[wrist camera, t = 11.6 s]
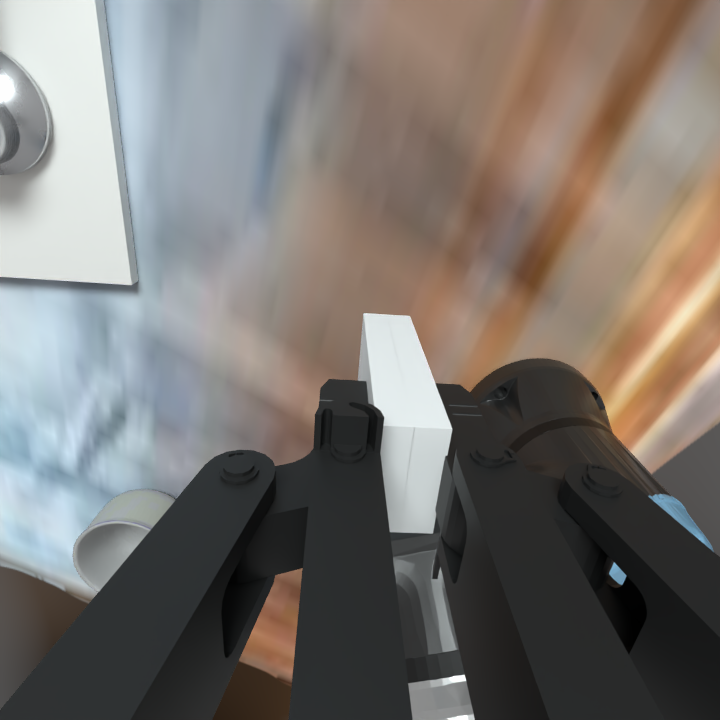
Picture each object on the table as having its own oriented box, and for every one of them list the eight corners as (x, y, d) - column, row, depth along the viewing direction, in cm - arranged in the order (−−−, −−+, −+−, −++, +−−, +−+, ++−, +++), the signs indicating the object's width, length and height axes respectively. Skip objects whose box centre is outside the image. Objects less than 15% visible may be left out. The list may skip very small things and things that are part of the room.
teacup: (110, 542, 57) (77, 600, 50) (101, 470, 53) (62, 522, 46) (227, 549, 58) (210, 607, 51) (227, 479, 54) (208, 532, 47)
